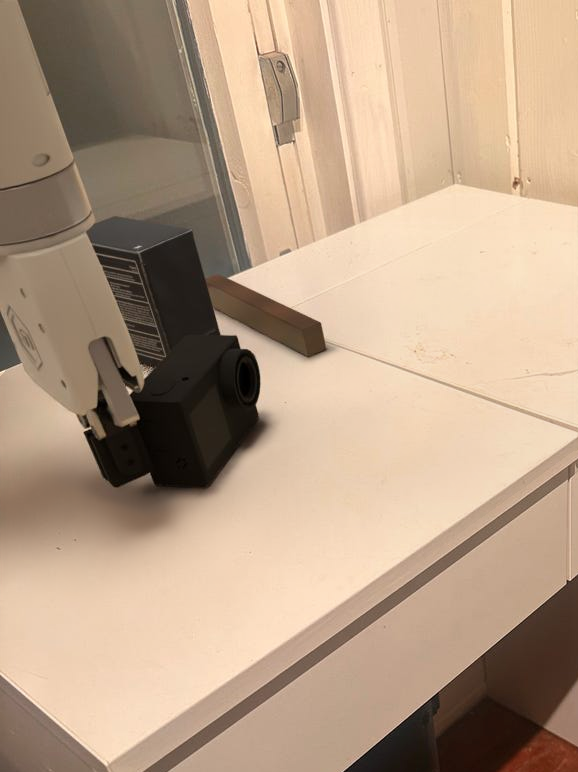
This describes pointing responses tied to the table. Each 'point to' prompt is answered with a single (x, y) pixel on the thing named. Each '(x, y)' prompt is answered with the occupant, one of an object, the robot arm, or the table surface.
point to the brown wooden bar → (266, 315)
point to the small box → (154, 283)
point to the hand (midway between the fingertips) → (129, 475)
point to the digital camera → (197, 408)
